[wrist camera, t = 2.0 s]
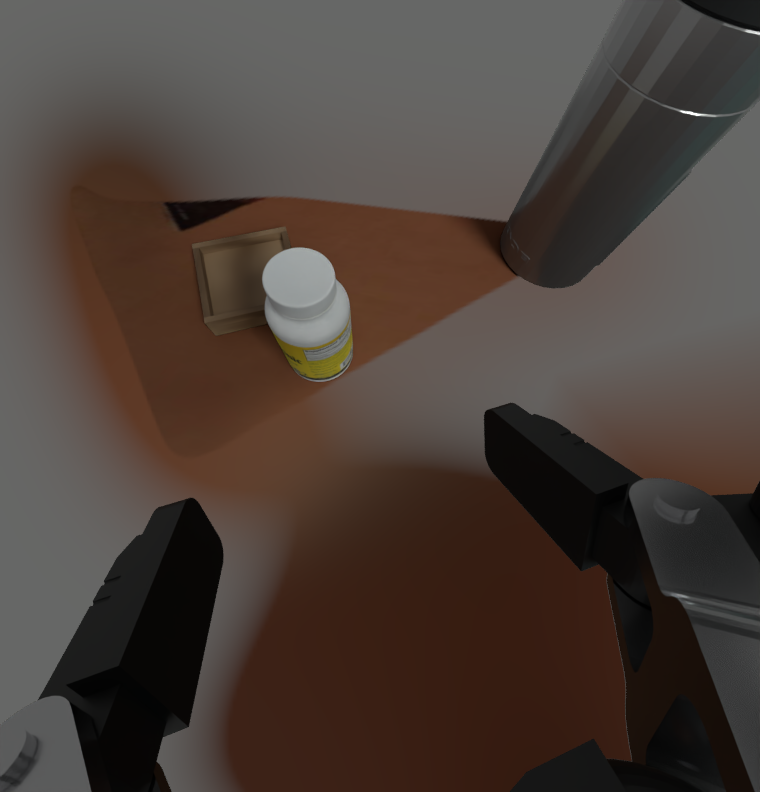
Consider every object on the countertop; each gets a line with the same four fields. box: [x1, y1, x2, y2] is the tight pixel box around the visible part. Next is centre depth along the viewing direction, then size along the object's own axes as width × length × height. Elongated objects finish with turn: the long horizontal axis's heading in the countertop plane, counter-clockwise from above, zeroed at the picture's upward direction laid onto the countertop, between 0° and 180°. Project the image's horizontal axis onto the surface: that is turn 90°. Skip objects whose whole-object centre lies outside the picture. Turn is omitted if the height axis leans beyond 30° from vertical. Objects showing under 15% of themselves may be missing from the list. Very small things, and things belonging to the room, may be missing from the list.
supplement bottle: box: [262, 248, 353, 382], centre depth 22 cm, size 5×5×10 cm
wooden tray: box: [192, 227, 291, 336], centre depth 27 cm, size 8×8×2 cm
